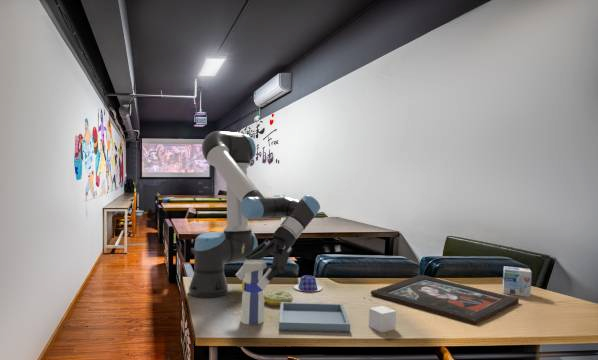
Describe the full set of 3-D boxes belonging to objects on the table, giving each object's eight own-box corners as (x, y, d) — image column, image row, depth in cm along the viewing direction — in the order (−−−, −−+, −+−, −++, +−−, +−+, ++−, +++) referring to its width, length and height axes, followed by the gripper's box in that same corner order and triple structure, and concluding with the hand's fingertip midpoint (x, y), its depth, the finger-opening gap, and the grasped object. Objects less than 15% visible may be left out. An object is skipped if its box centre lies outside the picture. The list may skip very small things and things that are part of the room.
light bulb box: (502, 293, 181) (504, 268, 181) (501, 289, 187) (502, 265, 187) (531, 297, 177) (532, 271, 177) (529, 293, 183) (530, 268, 183)
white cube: (381, 332, 131) (381, 313, 131) (368, 326, 137) (369, 308, 136) (395, 329, 135) (396, 311, 134) (382, 323, 140) (383, 305, 140)
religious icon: (417, 279, 200) (418, 273, 200) (519, 304, 168) (519, 297, 168) (367, 295, 172) (367, 288, 172) (477, 329, 140) (477, 320, 140)
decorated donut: (298, 303, 158) (298, 293, 158) (277, 309, 150) (278, 299, 150) (278, 296, 165) (279, 287, 165) (258, 302, 157) (258, 292, 157)
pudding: (318, 285, 185) (319, 273, 185) (325, 293, 173) (325, 280, 173) (291, 285, 183) (292, 273, 183) (296, 293, 171) (296, 280, 171)
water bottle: (240, 325, 133) (242, 246, 132) (238, 316, 141) (241, 242, 141) (266, 325, 134) (268, 246, 134) (263, 315, 143) (265, 242, 142)
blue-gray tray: (278, 330, 130) (279, 322, 130) (280, 309, 150) (280, 302, 150) (350, 332, 130) (350, 324, 130) (342, 311, 150) (342, 303, 150)
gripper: (316, 246, 137) (276, 299, 128) (273, 235, 157) (236, 280, 148) (304, 230, 133) (262, 284, 125) (262, 221, 153) (223, 267, 144)
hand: (248, 282), depth 136 cm, fingers open, 13 cm apart
